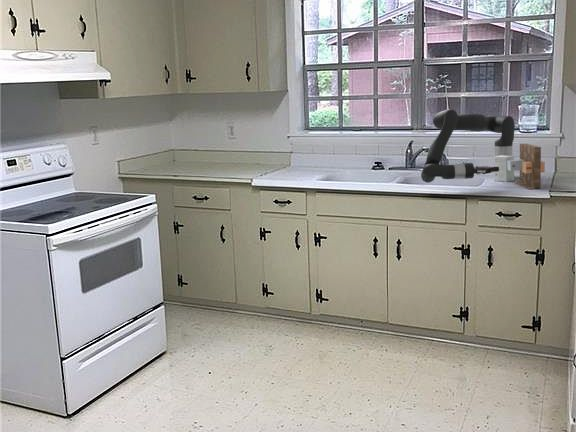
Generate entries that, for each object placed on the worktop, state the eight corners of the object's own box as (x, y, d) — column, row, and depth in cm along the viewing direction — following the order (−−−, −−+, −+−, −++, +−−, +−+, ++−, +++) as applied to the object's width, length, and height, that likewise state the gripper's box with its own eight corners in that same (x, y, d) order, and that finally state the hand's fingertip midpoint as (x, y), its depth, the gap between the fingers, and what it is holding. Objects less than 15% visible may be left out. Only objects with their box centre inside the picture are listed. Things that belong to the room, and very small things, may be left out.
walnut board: (514, 183, 336) (514, 144, 332) (525, 182, 336) (525, 143, 332) (528, 189, 316) (529, 147, 312) (540, 188, 316) (540, 147, 312)
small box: (514, 180, 345) (514, 155, 343) (506, 182, 342) (506, 157, 340) (502, 179, 352) (502, 155, 350) (493, 180, 349) (493, 156, 346)
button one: (507, 169, 333) (507, 160, 332) (525, 168, 332) (525, 158, 331) (510, 171, 327) (510, 161, 326) (528, 170, 327) (529, 160, 326)
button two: (522, 172, 322) (522, 161, 321) (540, 171, 321) (541, 160, 320) (526, 173, 316) (526, 163, 315) (544, 172, 316) (545, 162, 315)
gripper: (466, 165, 313) (502, 162, 312) (459, 162, 326) (494, 159, 325) (466, 180, 314) (502, 178, 314) (459, 176, 327) (494, 174, 327)
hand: (498, 168), depth 320 cm, fingers closed
